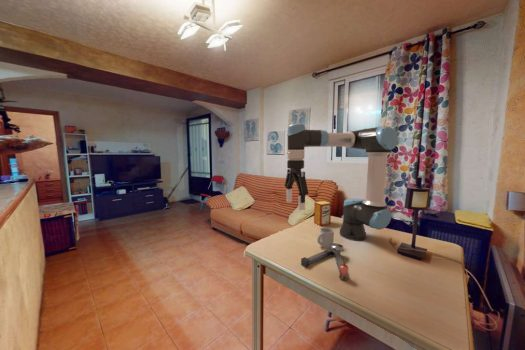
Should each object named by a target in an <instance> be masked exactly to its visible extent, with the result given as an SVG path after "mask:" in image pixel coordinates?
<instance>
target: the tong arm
mask: <svg viewBox="0 0 525 350" xmlns="http://www.w3.org/2000/svg"><path fill="white" fill-rule="evenodd" d="M331 249H333V250H336V252H335V257H334V259H335V262H336V265H337V269H338V277H339V279H340V280H341V281H348V278H349V277H348V276H349V266H348V265H347V264H345V263H344V262H343V259H342V257H341V256H340V250H341V251H342V250H343V249H344V247H343V245H342V244H341V243H340V244H339V243H334V242H333V244H331Z"/></svg>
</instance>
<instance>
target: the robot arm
mask: <svg viewBox="0 0 525 350" xmlns="http://www.w3.org/2000/svg"><path fill="white" fill-rule="evenodd" d="M286 135H287V151H286V155H287V159H288V160H287V162H286V164H287V165H286V166H287V167H286V168H287V172H286V178H285V182H284V187H285V188H286V203H292V202H293V185H294V182H295V183H296V187H297V190H298V203H297V204H298V207H297V208H298V211H305V210H306V196H307V195H309V190H308V184H307V179H306V172H305V171H302V170H303V169H304V168H305V152H306V151H305V148H309V147H310V148H311V147H312V148H317V147H320V148H322V147H325V148H326V147H327V148H328V147H334V148H335V147H345V148H346V149H355V150H363V151H364V150H365V154H366V155H367V156H368V158H367V159H368V161H367V174H366V186H365V187H366V189H365V198H364V199H363V198H347V199H345V200H344V201H343V210H342V211H343V213H342V214H343V215H342V223H341V227H340V229H339V235H340V236H341V237H342V238H345V239H346V240H347V239H348V240H352V241H363V240H366V239H367V232H366V229H365V228H366V227H365V226H367V227H369V228H371V229H375V230H383V229H385V228H387V226H388V225H390V222H391V220H392V213H391V212H390V210H388V209H387V207H388V206H387V203H386V202H385V201H384V200H385V188H386V178H387V176H386V175H387V174H386V173H387V162H388V156H389V155H390V154H392V150H393V149H395V148H396V147H397V145H398V143H399V142H398V141H399V139H398V138H399V137H398V133H397V132H396V131H395V129H394V128H393V127H392V126H387V125H386V126H377V127H369V128H363V129H359V130H348V131H346V132H328V131H327V130H322V129H306V125H305V124H303V123H292V124H290V125H288V127H287V134H286Z"/></svg>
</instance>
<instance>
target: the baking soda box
mask: <svg viewBox="0 0 525 350" xmlns="http://www.w3.org/2000/svg"><path fill="white" fill-rule="evenodd" d="M313 210H314V213H313V224H314V223H315V224H314V225H316V224H317V225H316V226H318V225H319V227H323V226H324V225H325V226H328V225H331V221H332V220H331V218H332V217H331V216H332V215H331V214H332V203H331V202H328V201H325V200H323V201H317V202H314V209H313ZM325 226H324V227H325Z"/></svg>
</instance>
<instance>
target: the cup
mask: <svg viewBox="0 0 525 350" xmlns="http://www.w3.org/2000/svg"><path fill="white" fill-rule="evenodd" d="M334 235H335V230H334V229H332V228H331V227H322V228H320V229H319V233H318V235H317V238H316V240H317V244H318V245H319V246H321V247H322V248H325V249H330V248H331V244H333V243H334V241H335V240H334ZM331 249H332V248H331Z"/></svg>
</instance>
